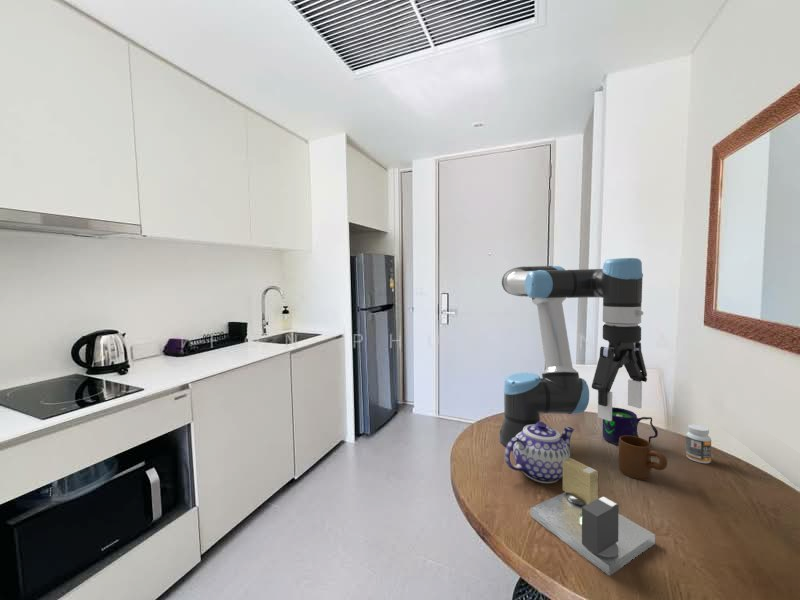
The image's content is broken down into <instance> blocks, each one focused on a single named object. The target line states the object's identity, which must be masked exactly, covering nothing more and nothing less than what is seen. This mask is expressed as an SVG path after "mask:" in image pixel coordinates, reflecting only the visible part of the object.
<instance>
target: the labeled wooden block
mask: <svg viewBox="0 0 800 600" xmlns="http://www.w3.org/2000/svg"><path fill="white" fill-rule="evenodd" d="M562 491H563V492H566V497H567V498H568V499H569V500H570V501H571V502H573V503H575V504H577V505H580V506H585V505H587V504H589V503H591V502H593V501H595V500H597V499H599V496H598V495H599V471H598V470H596V469H594V468H592V467H591V466H588V465H586V464H585V463H582V462H580V461H578V460H576V459H574V458H572V457H570V458H568V459H566V460H563V477H562Z"/></svg>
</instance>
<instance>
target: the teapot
mask: <svg viewBox="0 0 800 600" xmlns="http://www.w3.org/2000/svg"><path fill="white" fill-rule="evenodd" d="M574 430H575V429H574V428H573V427H570V426H569V427H568V426H566V427H564V428H563V431H562V433H561V434H560V432H559V431H558V430H557V429H555V428H553V427H550V426H548V425H547V424H546V423H545V422H543V421H540V422H537V423H536V424H532V425H527V426H525V427H524V428H523V430H522V431H521V432H519V433H518V434H517V435H516V436H515V437H513V438H512V439H511V440H510V441H509V443H508V444H507V447H506V446H505V451H504V461H505V463H506V465H507V467H509V468H510V469H512V470H514V471H519V472H522V473H523V474H524V475H525V476H526V477H527V478H528V479H530V480H533V481H535V482H537V483H542V484H553V483H554V484H555V483H556V482H558V481H559V480H560V479H563V460H566V459H568V458H571V452H570V448H571V447H570V444H571V437H572V434H573V432H574ZM512 447H513V450H512ZM511 452H512V453H513V459H514V460H513V461H515V464H516V465H513V464H512V463H511Z"/></svg>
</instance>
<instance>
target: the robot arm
mask: <svg viewBox="0 0 800 600" xmlns="http://www.w3.org/2000/svg"><path fill="white" fill-rule="evenodd" d="M642 265H643V263H642V260H641V259H640V258H636V257H624V258H623V257H620V258H611V259H610V258H609V259H606V260H604V262H603V267H602V268H588V269H585V268H584V269H583V268H582V269H565V268H564V267H563V266H559V265H540V266H539V265H538V266H537V265H534V266H518V267H513V268H512V269H509V270H507V271H506V272H505V273H504V274H503V276H502V278H501V285H502V286H501V287H502V288H503V290H504V291H505V292H506V293H507V294H509V295H511V296H517V297H528V298H531V299H532V300H531V302H532V303H533V304H534V305H535V306H536V307H537V312H538V313H537V314H538V320H539V329H540V336H541V343H542V350H543V357H544V359H543V360H544V366H545V368H544V370H543V371H542V373H541V377H542V378H541V377H540V376H539V374H536V373H533V372H517V373H514V374H510V375H509V376H506V378H505V379H504V384H503V394H504V395H503V397H504V398H503V401H504V403H503V404H504V405H503V407H504V408H503V409H504V410H503V411H504V413H503V415H504V417H503V422H502V424H501V427H500V428H501V429H500V430H499V432H498V433H499V437H498V438H499V439H498V440H499V442H500V444H502V445H503V446H504V447H505V448H506V447H507V444H508V443H509V441H510V440H511V439H512V438H513V437H515V436H516V435H517V434H518V433H519V432H521V431H522V430H523V428H524V427H525V426H527V425H532V424H536V423H537V422H541V414H547V415H548V414H550V415H551V414H553V415H554V414H555V415H556V414H557V415H560V414H561V415H564V414H565V415H572V414H573V415H577V414H578V415H579V414H582V413H584V412H585V411H586V409H587V407H588V406H589V402H590V388H589V385H588V383H587V381H586V380H585V378H581V377H580V375H579V372H578V371H577V370H576V369H574V367H573V362H572V357H571V351H570V344H569V339H568V338H569V337H568V331H567V325H566V318H565V313H564V312H565V311H564V306H563V303H564V301H565V300H566V298H568V299H569V298H570V299H573V298H574V299H575V298H580V299H581V298H582V299H583V298H584V299H585V298H599V299H600V298H601V299H602V322H603V323H604V324H603V325H602V339H603V340H604V341H607V342H608V347H607V346H600V348H599V357H598V360H597V365H596V369H595V372H594V376H593V379H592V383H591V389H593V390H596V391H597V418H599V419H601V420H603V419H605V420H608V421H612V407H613V391H611V389H612V387H613V384H614V382H615V379H616V377H617V375H618V372H619V369H621V368H623V366H624V369H625V370H626V372H627V374H628V377H629V379H628V380H627V406H629V407H632V408H636V409H642V398H643V396H642V395H643V394H642V393H643V392H642V391H643V390H642V389H643V382H645V383H646V382H647V381H648V377H647V376H648V373H647V369H646V364H645V361H644V357H643V356H644V355H643V352H642V343H641V341H642V327H641V325H640V324H641V323H642V316H643V315H644V312H643V311H642V301H643V277H644V274H643V267H642ZM511 451H513V447H512V450H511Z"/></svg>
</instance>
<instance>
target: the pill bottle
mask: <svg viewBox="0 0 800 600" xmlns="http://www.w3.org/2000/svg"><path fill="white" fill-rule="evenodd" d="M687 426H688V427H687V430H688V431H687V432H686V434H685V455H686V458H688V459H689V460H691V461H693V462H696V463H699V464H710V463H711V462H712V438H711V437H710V436H709V433H710V430H709V428H707V427H706V426H703V425H699V424H688V425H687Z"/></svg>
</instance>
